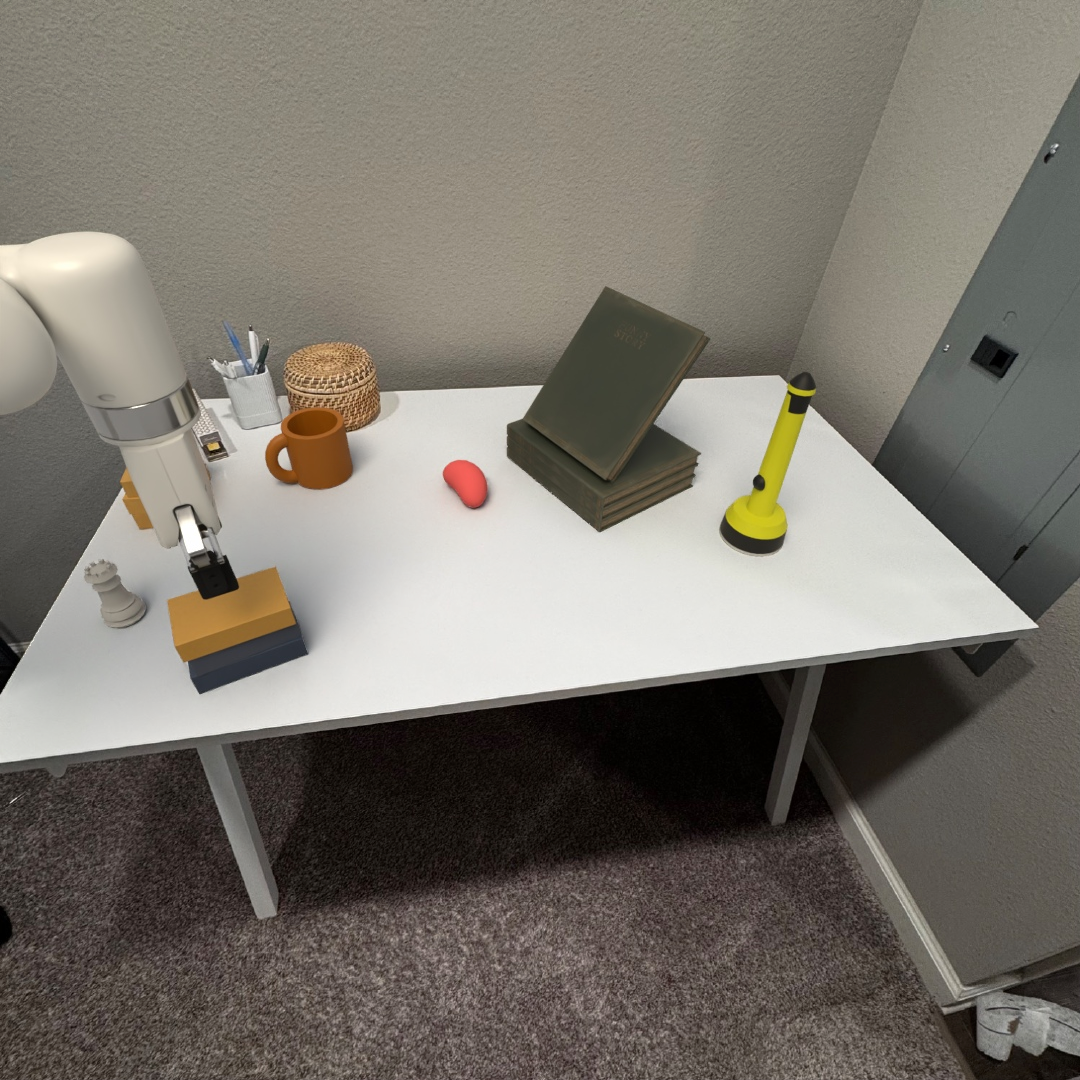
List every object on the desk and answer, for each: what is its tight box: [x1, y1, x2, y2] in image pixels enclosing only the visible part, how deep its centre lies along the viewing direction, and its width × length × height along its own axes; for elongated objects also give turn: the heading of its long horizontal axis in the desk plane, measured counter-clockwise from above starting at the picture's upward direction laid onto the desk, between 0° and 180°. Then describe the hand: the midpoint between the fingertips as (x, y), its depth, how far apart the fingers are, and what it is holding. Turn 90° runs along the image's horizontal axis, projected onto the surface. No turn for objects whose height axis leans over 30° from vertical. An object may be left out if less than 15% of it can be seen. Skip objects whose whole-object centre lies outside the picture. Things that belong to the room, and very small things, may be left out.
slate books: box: [187, 594, 309, 695], centre depth 68 cm, size 12×7×6 cm, turn 119°
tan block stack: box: [119, 457, 212, 530], centre depth 87 cm, size 12×8×8 cm, turn 11°
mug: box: [264, 406, 354, 490], centre depth 93 cm, size 9×12×9 cm
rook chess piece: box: [83, 558, 147, 629], centre depth 71 cm, size 4×4×8 cm
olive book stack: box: [506, 285, 711, 533], centre depth 91 cm, size 23×20×25 cm
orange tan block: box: [166, 566, 296, 664], centre depth 66 cm, size 11×7×3 cm, turn 119°
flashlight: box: [718, 371, 817, 557], centre depth 81 cm, size 25×9×9 cm
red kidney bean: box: [442, 459, 489, 508], centre depth 92 cm, size 5×9×6 cm, turn 21°
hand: (213, 560), depth 61 cm, fingers open, 9 cm apart
